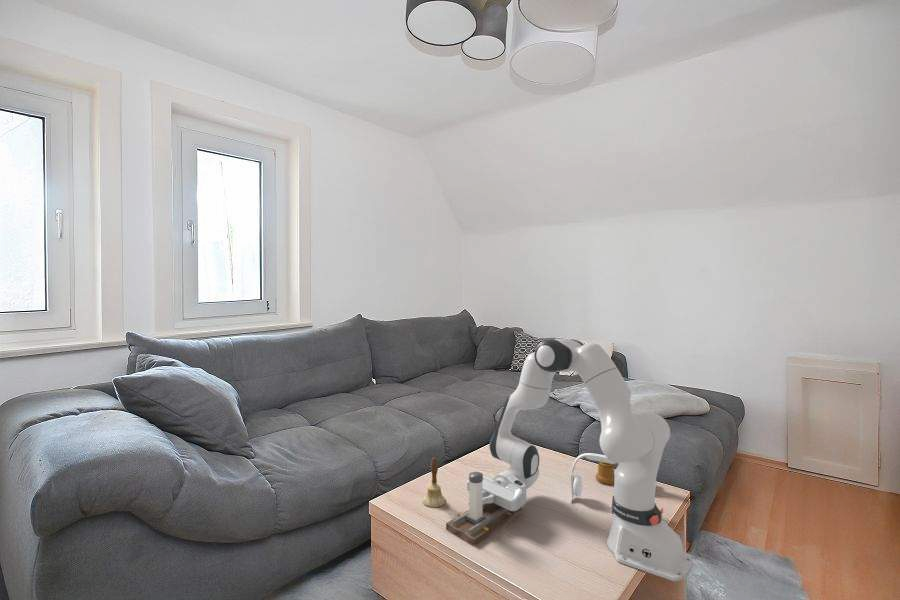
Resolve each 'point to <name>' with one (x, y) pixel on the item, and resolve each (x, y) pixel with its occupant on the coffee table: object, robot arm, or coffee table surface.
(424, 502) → the hand bell
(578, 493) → the headset
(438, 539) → the coffee table surface
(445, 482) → the coffee table surface
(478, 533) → the fader track
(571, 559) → the coffee table surface
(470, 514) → the fader tab
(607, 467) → the ornamental finial
